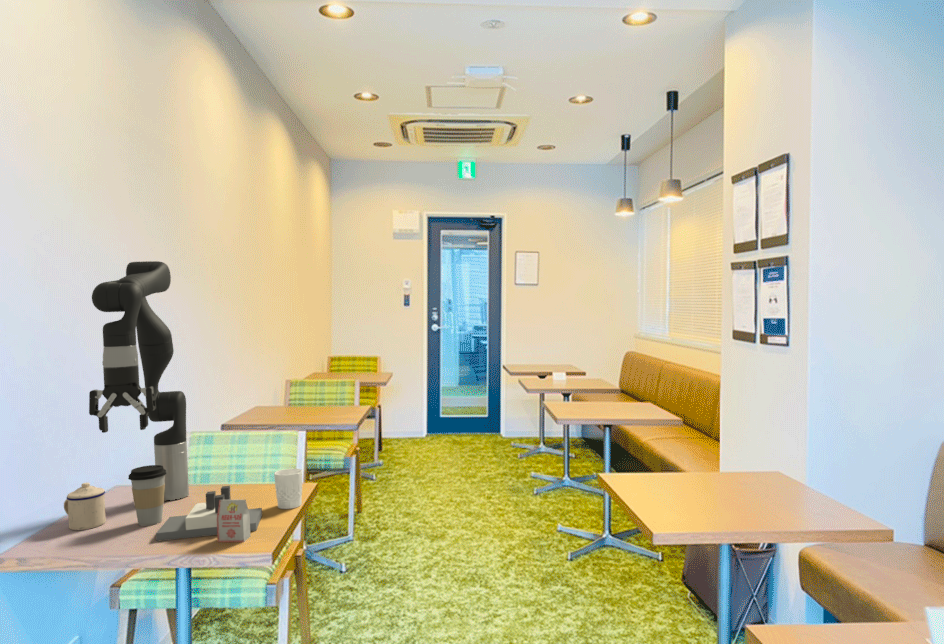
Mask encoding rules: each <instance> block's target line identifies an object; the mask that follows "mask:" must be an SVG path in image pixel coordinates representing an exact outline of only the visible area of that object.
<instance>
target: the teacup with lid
mask: <svg viewBox="0 0 944 644" xmlns="http://www.w3.org/2000/svg"><path fill="white" fill-rule="evenodd" d="M105 494H106V491H105V489H104V488H102V487H96V486H94V485H91V483H90V482H83V483H81V486H80V487H78V488H77V489H75V490H73V491H71V492H69V493H67V495H66V499H65V500H64V502H63V509H64V512H65V514H66V515H68V528H69V529H70V530H72V531H84V530H85V531H86V530H89V529H93V528H98V527H100V526H102V525H103V524H105V523H106V522H107V521H106V518H107V517H106V504H105V502H106V501H105V498H106V497H105Z"/></svg>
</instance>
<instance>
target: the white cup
mask: <svg viewBox="0 0 944 644" xmlns="http://www.w3.org/2000/svg"><path fill="white" fill-rule="evenodd" d="M274 485H275V486H274V487H275V494H276V495H275V496H276V500H277V508H278V509H281V510H290V509H291V510H292V509H297V508H299V507H300V506H301V505H302V503H303V502H302V496H303V469H301V468H284V469H279V470H277V471H275V472H274Z"/></svg>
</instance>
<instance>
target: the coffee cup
mask: <svg viewBox="0 0 944 644" xmlns="http://www.w3.org/2000/svg"><path fill="white" fill-rule="evenodd" d="M166 474H167V473H166V470H165V469H164V468H163V466H161V465H155V464H152V465H143V466H139V467H135V468H133V469H131V470H130V473H129V474H128V478H127V479H128V480H130V481H131V492H132V497H133V503H134V505H133V506H134V508H135V514H136V518H137V525H138V526H140V527H147V526H148V527H149V526H150V527H151V526H153V525H156V524H157V523H158V524H160V523H162V521H163V509H164V502H165V501H164V490H165V483H164V481H165V475H166Z"/></svg>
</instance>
